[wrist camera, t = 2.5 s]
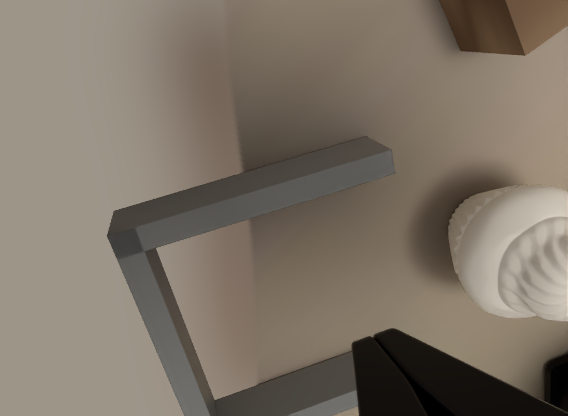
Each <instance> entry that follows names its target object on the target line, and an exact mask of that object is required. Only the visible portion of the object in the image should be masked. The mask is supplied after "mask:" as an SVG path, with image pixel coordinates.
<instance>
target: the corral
mask: <svg viewBox="0 0 568 416" xmlns="http://www.w3.org/2000/svg"><path fill="white" fill-rule="evenodd" d="M392 174H395V171H394V164H393V156H392V150H391V149H389V148H387V147H385V146H383V145H382V144H380V143H378V142H376V141H374V140H372V139H370V138H368V137H367V136H365V137H362V138H359V139H355V140H352V141H349V142H345V143H342V144H338V145H335V146H332V147H328V148H325V149H322V150H318V151H315V152H311V153H308V154H305V155H301V156H298V157H295V158H291V159H288V160H284V161H281V162H278V163H274V164H271V165H268V166H264V167H261V168H257V169H254V170H251V171H247V172H244V173H241V174H238V175H234V176H230V177H227V178H224V179H221V180H217V181H214V182H210V183H207V184H203V185H200V186H197V187H193V188H190V189H187V190H183V191H180V192H177V193H173V194H170V195H166V196H163V197H160V198H156V199H153V200H149V201H146V202H143V203H140V204H136V205H133V206H129V207H126V208H122V209H119V210H116V211H114V213H113V216H112V220H111V223H110V227H109V231H108V234H107V237H108V239H109V242H110V244H111V246H112V249H113V251H114V253H115V256H116V258H117V260H118V263H119V265H120V267H121V270H122V272H123V274H124V276H125V279H126V281H127V284H128V286H129V288H130V291H131V293H132V295H133V298H134V300H135V302H136V305H137V307H138V309H139V312H140V314H141V316H142V319H143V321H144V323H145V325H146V328H147V330H148V332H149V335H150V337H151V339H152V341H153V344H154V346H155V349H156V351H157V353H158V356H159V358H160V360H161V363H162V365H163V367H164V369H165V372H166V374H167V377H168V379H169V381H170V384H171V386H172V388H173V391H174V393H175V395H176V397H177V400H178V402H179V404H180V407H181V409H182V412H183V414H184V416H333V415H335V414H338V413H341V412H343V411H346V410H349V409H351V408H354V407H357V406H358V401H357V392H356V383H355V374H354V364H353V355H352V351H351V352H348V353H345V354H343V355H340V356H337V357H334V358H332V359H329V360H326V361H323V362H320V363H318V364H315V365H312V366H309V367H306V368H304V369H301V370H298V371H295V372H293V373H290V374H287V375H284V376H281V377H279V378H276V379H273V380H270V381H268V382H265V383H262V384H259V385H256V386H254V387H251V388H248V389H245V390H242V391H240V392H237V393H234V394H232V395H229V396H226V397H223V398H220V399H218V400H214V398H213V395H212V393H211V390H210V388H209V385H208V382H207V380H206V377H205V375H204V372H203V369H202V367H201V364H200V362H199V359H198V356H197V354H196V351H195V349H194V346H193V343H192V341H191V338H190V336H189V333H188V331H187V328H186V325H185V323H184V320H183V318H182V315H181V312H180V310H179V307H178V305H177V302H176V300H175V297H174V295H173V292H172V289H171V287H170V284H169V282H168V279H167V277H166V274H165V271H164V269H163V266H162V263H161V261H160V258H159V256H158V253H157V250H156V248H157V247H160V246H163V245H167V244H170V243H173V242H176V241H180V240H183V239H186V238H189V237H192V236H196V235H199V234H202V233H205V232H209V231H212V230H215V229H218V228H222V227H225V226H228V225H231V224H234V223H237V222H241V221H244V220H247V219H251V218H254V217H257V216H260V215H263V214H267V213H270V212H273V211H276V210H280V209H283V208H286V207H289V206H292V205H296V204H299V203H302V202H305V201H309V200H312V199H315V198H318V197H321V196H325V195H328V194H331V193H334V192H338V191H341V190H344V189H347V188H350V187H354V186H357V185H360V184H363V183H367V182H370V181H373V180H376V179H379V178H383V177H386V176H389V175H392Z"/></svg>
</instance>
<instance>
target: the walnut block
mask: <svg viewBox="0 0 568 416" xmlns="http://www.w3.org/2000/svg"><path fill="white" fill-rule="evenodd" d="M439 1H440V3H441V5H442V8H443V10H444V12H445V15H446V17H447V19H448V22H449V24H450V26H451V29H452V31H453V33H454V36H455V38H456V40H457V43H458V45H459V47H460V50H461V51H468V52H482V53H496V54H510V55H524V56H526V55H527V54H528V53H530V52H531V51H533V50H534V49H535V48H537V47H538V46H540V45H541V44H542V43H544V42H545V41H547V40H548V39H549V38H551V37H552V36H554V35H555V34H556V33H558V32H559V31H561V30H562V29H563V28H565V27H566V26H568V0H439Z"/></svg>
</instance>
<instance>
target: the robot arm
mask: <svg viewBox="0 0 568 416" xmlns="http://www.w3.org/2000/svg"><path fill="white" fill-rule="evenodd" d="M352 355H353V364H354V374H355V383H356V392H357V401H358V410H359V416H568V355H567V356H565V357H562V358H559V359H557V360H554V361H552V362H550V363H549V364H548V365H547V367H546V391H545V401H543V400H541V399H539V398H537V397H535V396H532V395H530V394H528V393H526V392H524V391H522V390H520V389H518V388H516V387H514V386H512V385H510V384H508V383H506V382H504V381H502V380H500V379H498V378H496V377H494V376H491V375H489V374H487V373H485V372H483V371H481V370H479V369H477V368H475V367H473V366H471V365H469V364H467V363H465V362H463V361H461V360H459V359H457V358H455V357H453V356H450V355H448V354H446V353H444V352H442V351H440V350H438V349H436V348H434V347H432V346H430V345H428V344H426V343H424V342H422V341H420V340H418V339H416V338H414V337H412V336H409V335H407V334H405V333H403V332H401V331H399V330H397V329H394V328H391V329H388V330H385V331H382V332H379V333H376V334H375V335H374V336H373V337H370V336H368V337H365V338H363V339H360V340H357V341H354V342H353V343H352Z"/></svg>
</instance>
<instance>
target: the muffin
mask: <svg viewBox="0 0 568 416" xmlns="http://www.w3.org/2000/svg"><path fill="white" fill-rule="evenodd" d="M449 223H450V224H449V226H448V231H449V232H448V239H449V245H450V250H451V256H452V262H453V265H454V271H455V273H456V274H458V278H459V281H460V282H461V284H462V286H463V288H464V290H465V292H466V293H467V295H468V296H469V297H470V299H471V300H472V301H473V302H474V303H475V304H476V305H477V306H478V307H480V308H481V309H482V310H484V311H486V312H488V313H490V314H493V315H496V316H500V317H505V318H526V317H532V316H539V317H540V318H543V319H547V320H554V321H568V192H567V191H565V190H563V189H560V188H557V187H554V186H549V185H521V186H517V185H513V186H508V187H504V188H499V189H495V190H491V191H486V192H482V193H478V194H475V195H474V196H470V197H469V198H468V199H465V200H464V202H463V203H461V204H459V207H458V208H456V209H455V212H454V213H453V214H452V218H451V219H450V220H449Z"/></svg>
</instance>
